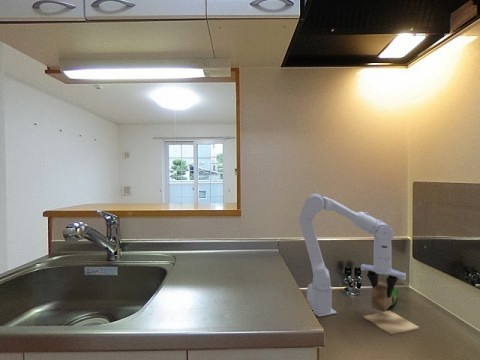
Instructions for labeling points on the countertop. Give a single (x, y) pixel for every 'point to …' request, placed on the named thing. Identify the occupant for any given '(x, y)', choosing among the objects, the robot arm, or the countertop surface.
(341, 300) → the countertop surface
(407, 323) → the plate
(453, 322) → the countertop surface
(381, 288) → the slab
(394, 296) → the snack package
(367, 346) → the countertop surface
